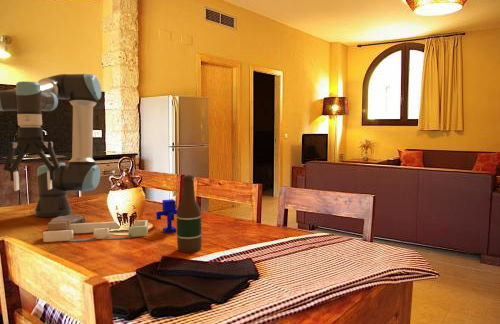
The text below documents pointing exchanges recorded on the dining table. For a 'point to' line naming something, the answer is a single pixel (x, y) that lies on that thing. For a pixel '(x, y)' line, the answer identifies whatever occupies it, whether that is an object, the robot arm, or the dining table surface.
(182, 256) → the dining table surface
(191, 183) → the beer bottle
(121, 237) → the grey thin bar
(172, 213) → the figurine
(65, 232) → the lane
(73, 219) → the stone
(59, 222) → the block
